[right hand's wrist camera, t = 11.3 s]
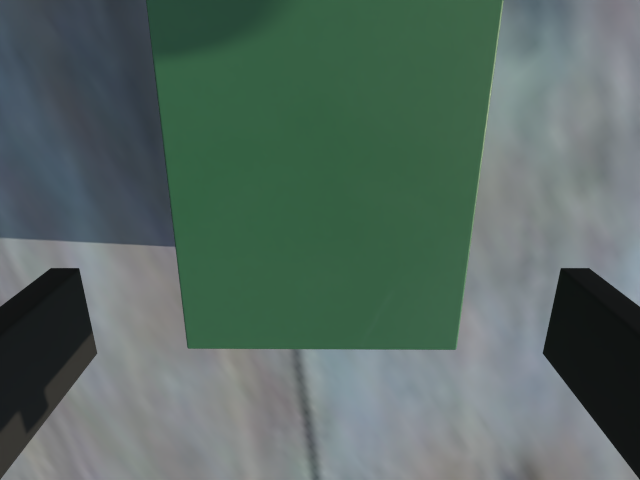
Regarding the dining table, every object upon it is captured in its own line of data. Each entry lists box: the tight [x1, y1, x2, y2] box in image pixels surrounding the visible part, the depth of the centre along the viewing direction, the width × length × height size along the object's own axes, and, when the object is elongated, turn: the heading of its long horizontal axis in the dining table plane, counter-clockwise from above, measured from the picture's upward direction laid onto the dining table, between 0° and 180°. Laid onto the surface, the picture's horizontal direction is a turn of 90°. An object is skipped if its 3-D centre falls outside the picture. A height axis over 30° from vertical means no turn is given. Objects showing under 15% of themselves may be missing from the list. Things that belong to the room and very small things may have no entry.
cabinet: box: [146, 0, 504, 350], centre depth 21 cm, size 15×11×11 cm
